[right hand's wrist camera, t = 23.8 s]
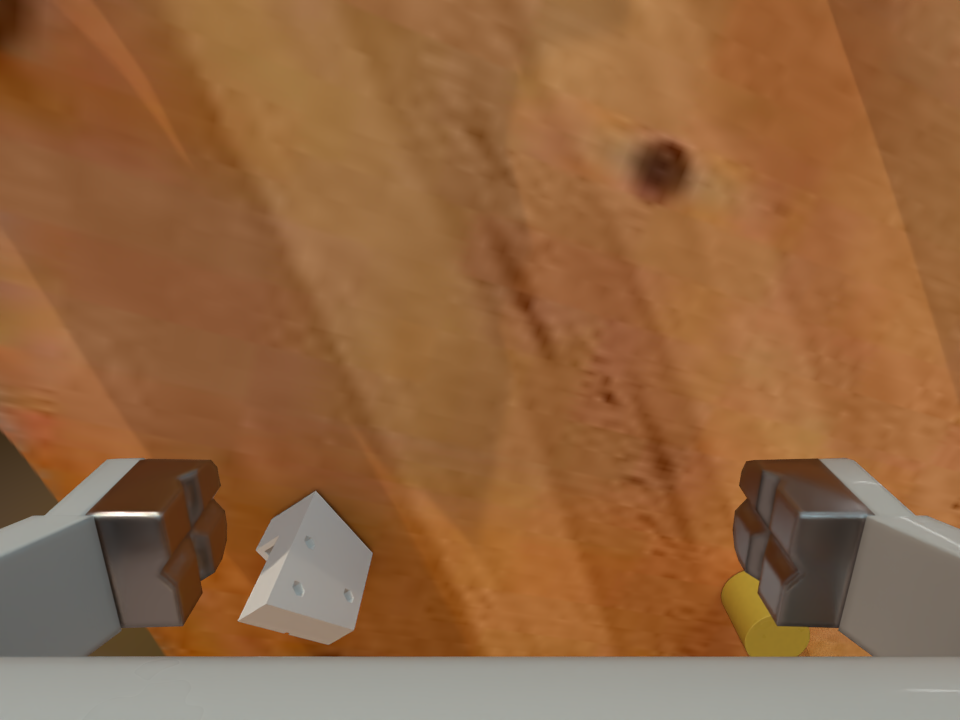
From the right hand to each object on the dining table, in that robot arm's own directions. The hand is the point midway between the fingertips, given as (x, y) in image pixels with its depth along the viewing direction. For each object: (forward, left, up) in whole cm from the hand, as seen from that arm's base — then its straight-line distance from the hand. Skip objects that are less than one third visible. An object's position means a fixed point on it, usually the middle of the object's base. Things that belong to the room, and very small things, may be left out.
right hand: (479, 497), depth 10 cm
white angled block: (+22, +2, -26) cm, 34 cm away
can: (+11, +28, -26) cm, 40 cm away
